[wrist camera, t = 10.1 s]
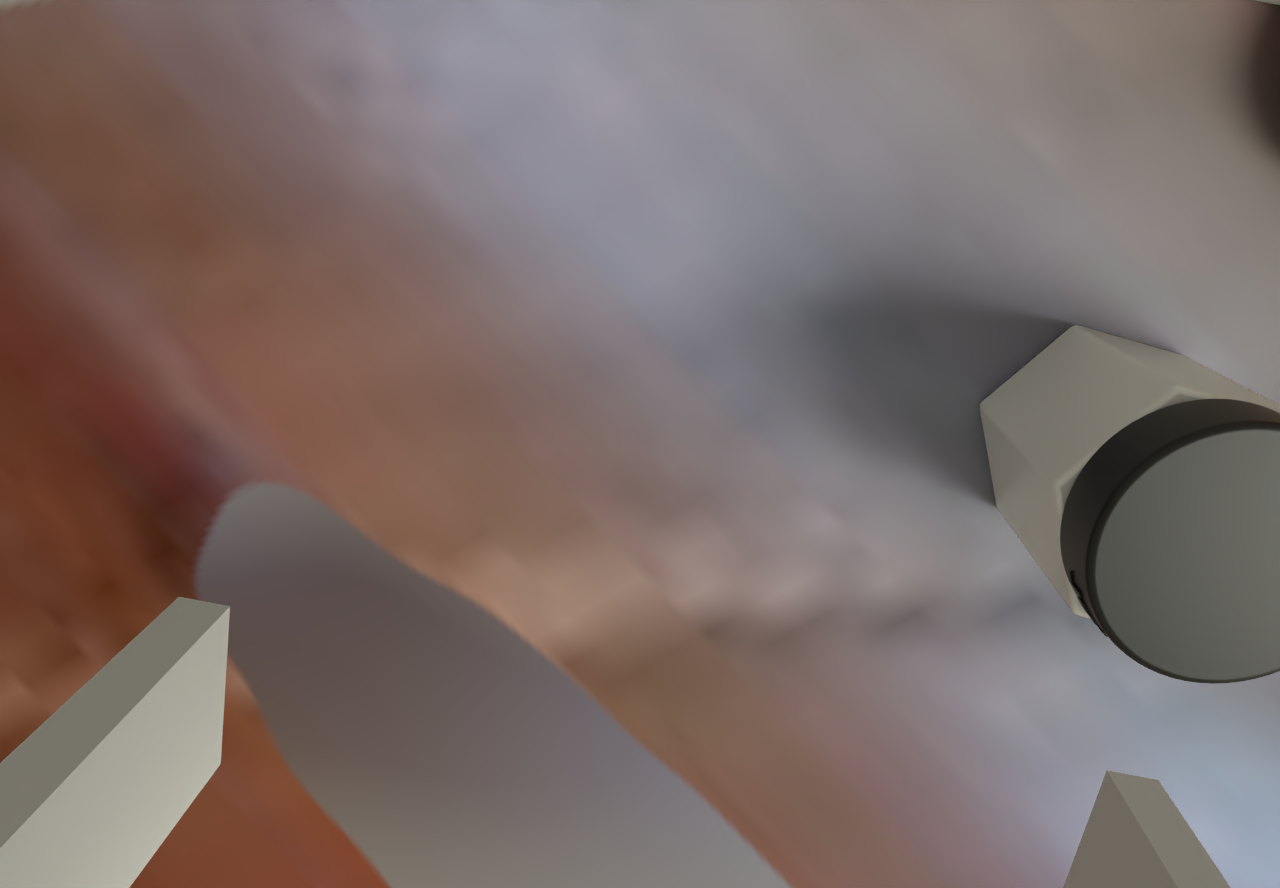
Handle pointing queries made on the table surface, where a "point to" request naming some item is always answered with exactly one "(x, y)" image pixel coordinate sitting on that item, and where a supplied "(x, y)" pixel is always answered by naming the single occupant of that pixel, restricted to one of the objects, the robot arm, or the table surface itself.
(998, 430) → the jar
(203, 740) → the robot arm
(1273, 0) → the socket block
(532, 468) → the table surface
